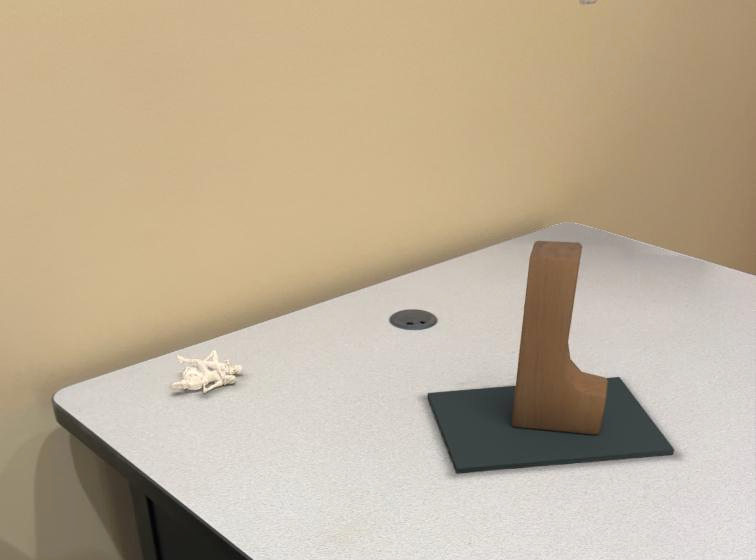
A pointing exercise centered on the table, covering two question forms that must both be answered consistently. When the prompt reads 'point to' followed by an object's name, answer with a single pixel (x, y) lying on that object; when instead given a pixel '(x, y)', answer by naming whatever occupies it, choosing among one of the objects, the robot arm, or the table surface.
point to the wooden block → (554, 349)
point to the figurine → (206, 373)
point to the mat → (539, 431)
